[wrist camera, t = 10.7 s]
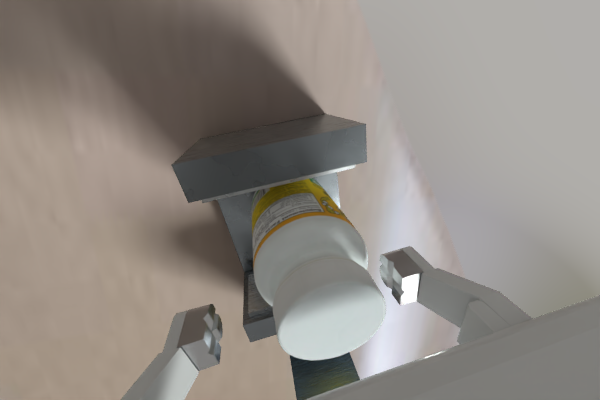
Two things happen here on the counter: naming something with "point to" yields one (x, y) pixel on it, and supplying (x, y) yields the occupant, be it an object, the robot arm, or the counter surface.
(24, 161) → the counter surface
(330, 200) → the supplement bottle
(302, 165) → the vise base
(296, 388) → the sliding jaw
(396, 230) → the counter surface
